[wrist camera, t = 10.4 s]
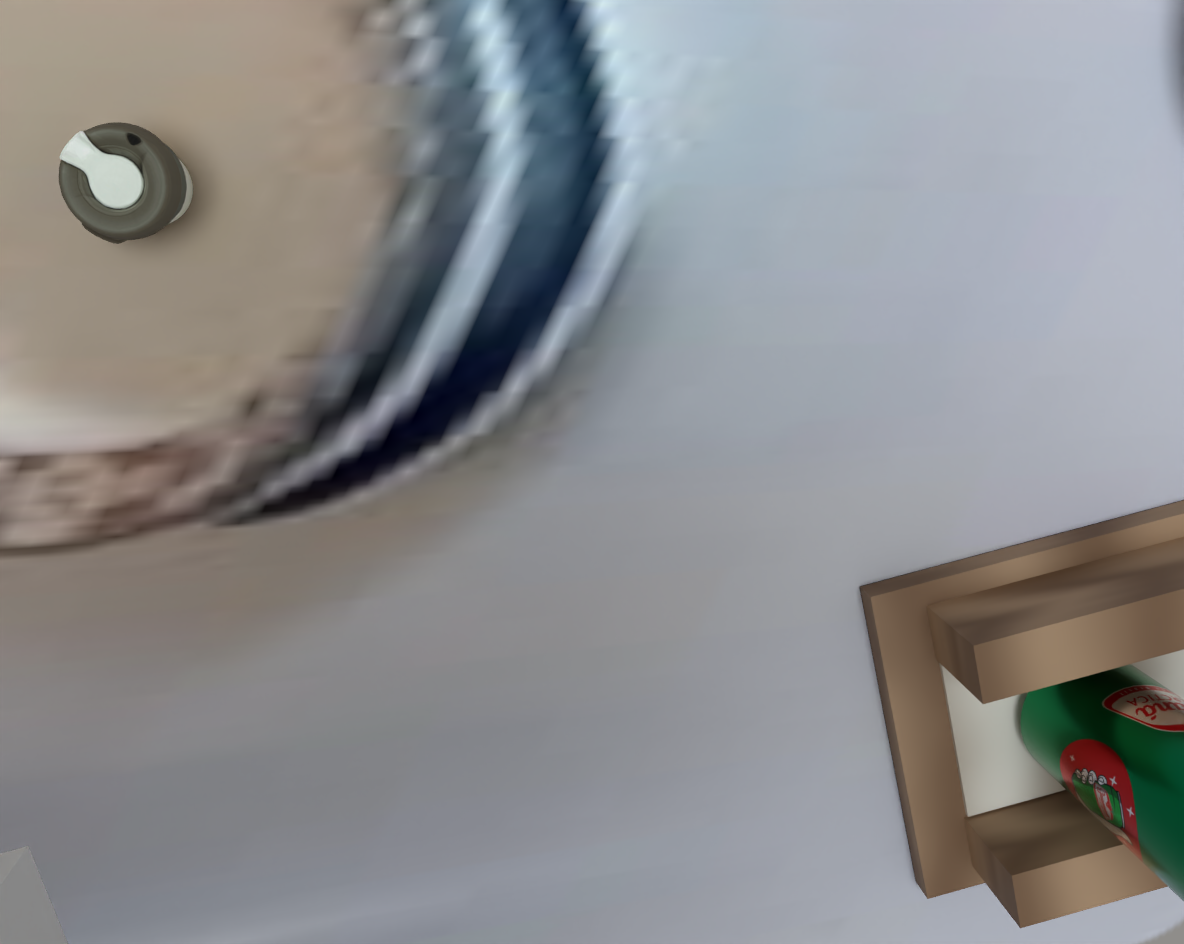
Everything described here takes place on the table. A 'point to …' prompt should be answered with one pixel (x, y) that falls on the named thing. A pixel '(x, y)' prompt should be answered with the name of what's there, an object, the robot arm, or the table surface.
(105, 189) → the coffee cup
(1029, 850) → the cradle
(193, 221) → the table surface
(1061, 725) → the soda can
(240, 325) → the table surface
